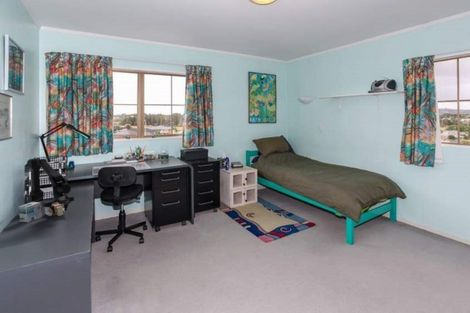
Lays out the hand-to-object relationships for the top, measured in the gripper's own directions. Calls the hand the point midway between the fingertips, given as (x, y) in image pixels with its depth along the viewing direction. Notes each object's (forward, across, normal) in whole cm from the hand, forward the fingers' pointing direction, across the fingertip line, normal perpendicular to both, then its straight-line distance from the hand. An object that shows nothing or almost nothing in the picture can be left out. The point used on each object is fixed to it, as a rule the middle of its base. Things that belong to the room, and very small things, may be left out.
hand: (60, 212), depth 191 cm
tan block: (+2, 0, +6) cm, 7 cm away
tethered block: (+2, 0, +4) cm, 4 cm away
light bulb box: (+2, -15, +8) cm, 17 cm away
